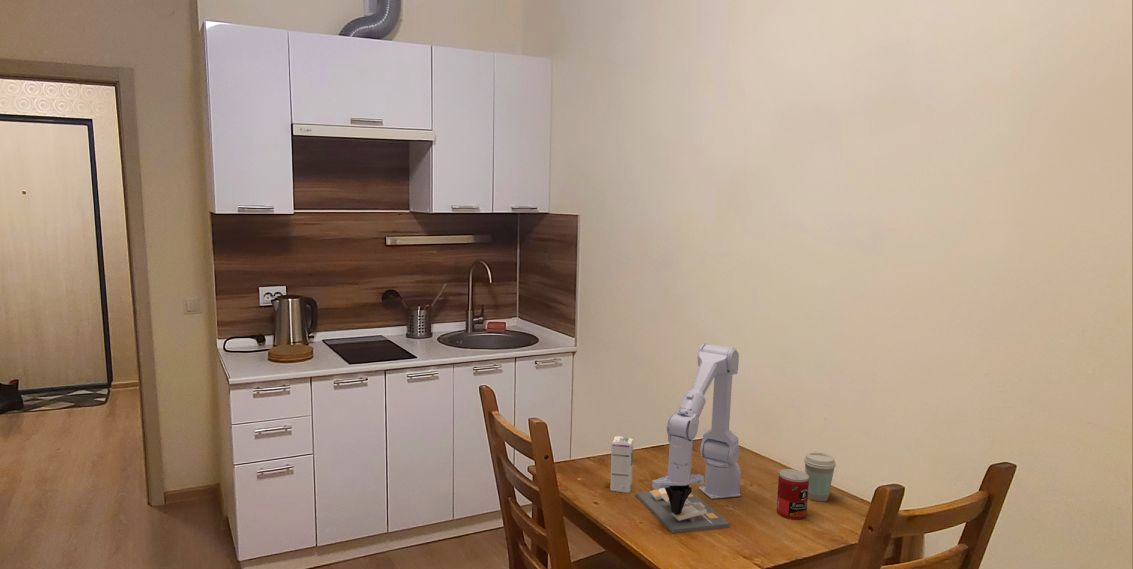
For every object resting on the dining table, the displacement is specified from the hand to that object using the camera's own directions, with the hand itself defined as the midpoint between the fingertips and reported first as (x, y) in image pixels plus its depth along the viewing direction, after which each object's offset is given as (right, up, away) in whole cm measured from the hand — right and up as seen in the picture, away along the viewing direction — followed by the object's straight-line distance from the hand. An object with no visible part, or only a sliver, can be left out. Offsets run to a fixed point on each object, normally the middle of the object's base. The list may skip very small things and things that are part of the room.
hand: (676, 513), depth 186 cm
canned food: (+32, -3, +9) cm, 34 cm away
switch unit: (+2, -2, +8) cm, 9 cm away
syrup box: (-13, 0, +23) cm, 26 cm away
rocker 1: (-1, +1, +14) cm, 15 cm away
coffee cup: (+43, -2, +21) cm, 48 cm away
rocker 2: (+1, 0, +8) cm, 8 cm away
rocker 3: (+3, 0, +1) cm, 4 cm away
